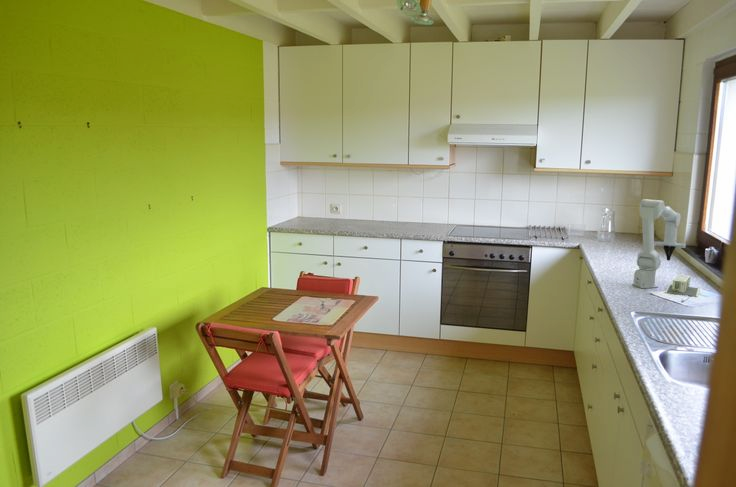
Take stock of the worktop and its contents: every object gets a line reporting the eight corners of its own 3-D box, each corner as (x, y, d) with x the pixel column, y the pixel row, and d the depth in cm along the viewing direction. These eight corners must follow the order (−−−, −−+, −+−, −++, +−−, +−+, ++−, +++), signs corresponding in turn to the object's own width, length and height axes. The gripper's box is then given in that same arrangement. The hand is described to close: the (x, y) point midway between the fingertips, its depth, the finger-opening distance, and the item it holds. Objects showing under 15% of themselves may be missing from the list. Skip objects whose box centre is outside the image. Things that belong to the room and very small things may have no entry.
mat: (697, 297, 278) (697, 296, 278) (664, 292, 285) (664, 292, 285) (699, 288, 293) (699, 288, 293) (668, 285, 300) (668, 284, 300)
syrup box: (678, 274, 298) (672, 279, 287) (691, 275, 294) (685, 281, 283) (677, 284, 299) (670, 290, 288) (690, 286, 295) (684, 292, 284)
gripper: (687, 234, 307) (684, 260, 310) (656, 232, 315) (654, 257, 317) (685, 236, 301) (683, 262, 304) (654, 234, 309) (652, 259, 311)
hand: (668, 260), depth 310 cm, fingers closed
